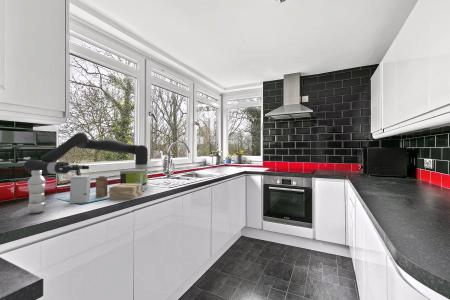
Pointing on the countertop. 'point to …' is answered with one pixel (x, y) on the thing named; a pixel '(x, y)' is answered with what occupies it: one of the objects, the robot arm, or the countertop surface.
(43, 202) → the plastic bottle
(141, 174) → the tea box
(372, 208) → the countertop surface
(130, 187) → the plinth
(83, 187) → the skincare box
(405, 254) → the countertop surface
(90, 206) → the countertop surface
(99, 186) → the walnut block
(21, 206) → the countertop surface
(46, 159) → the robot arm
